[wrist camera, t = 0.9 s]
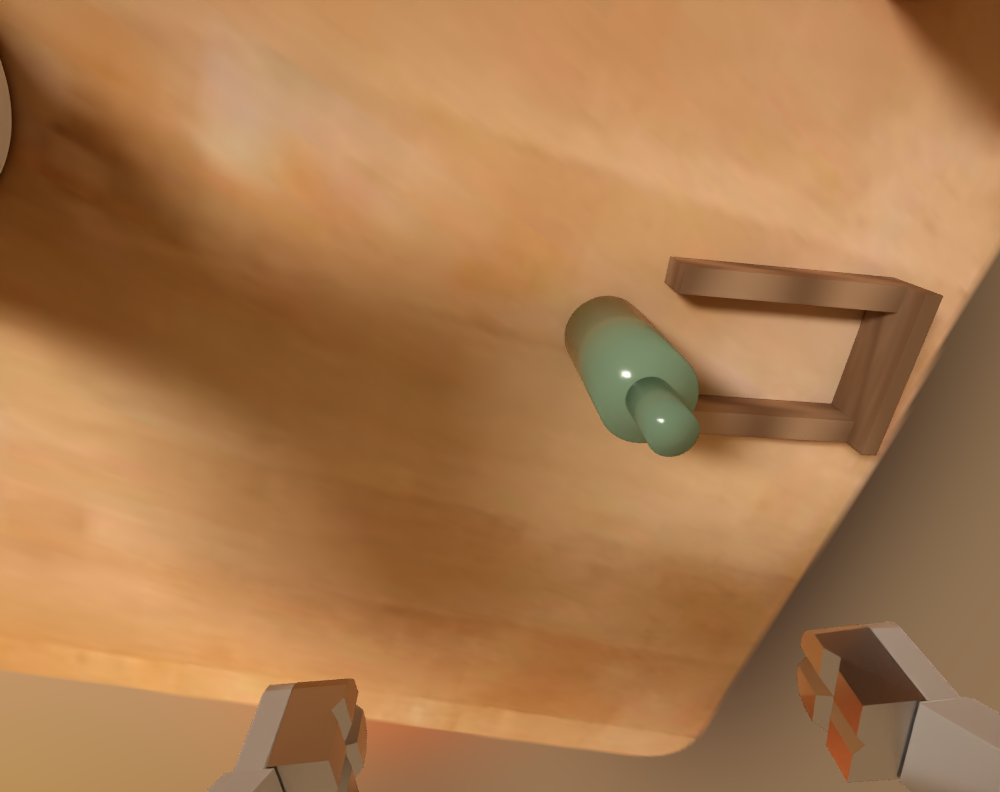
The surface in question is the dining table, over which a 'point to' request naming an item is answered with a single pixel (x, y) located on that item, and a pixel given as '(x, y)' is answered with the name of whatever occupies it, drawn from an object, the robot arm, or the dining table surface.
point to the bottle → (633, 376)
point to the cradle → (870, 367)
